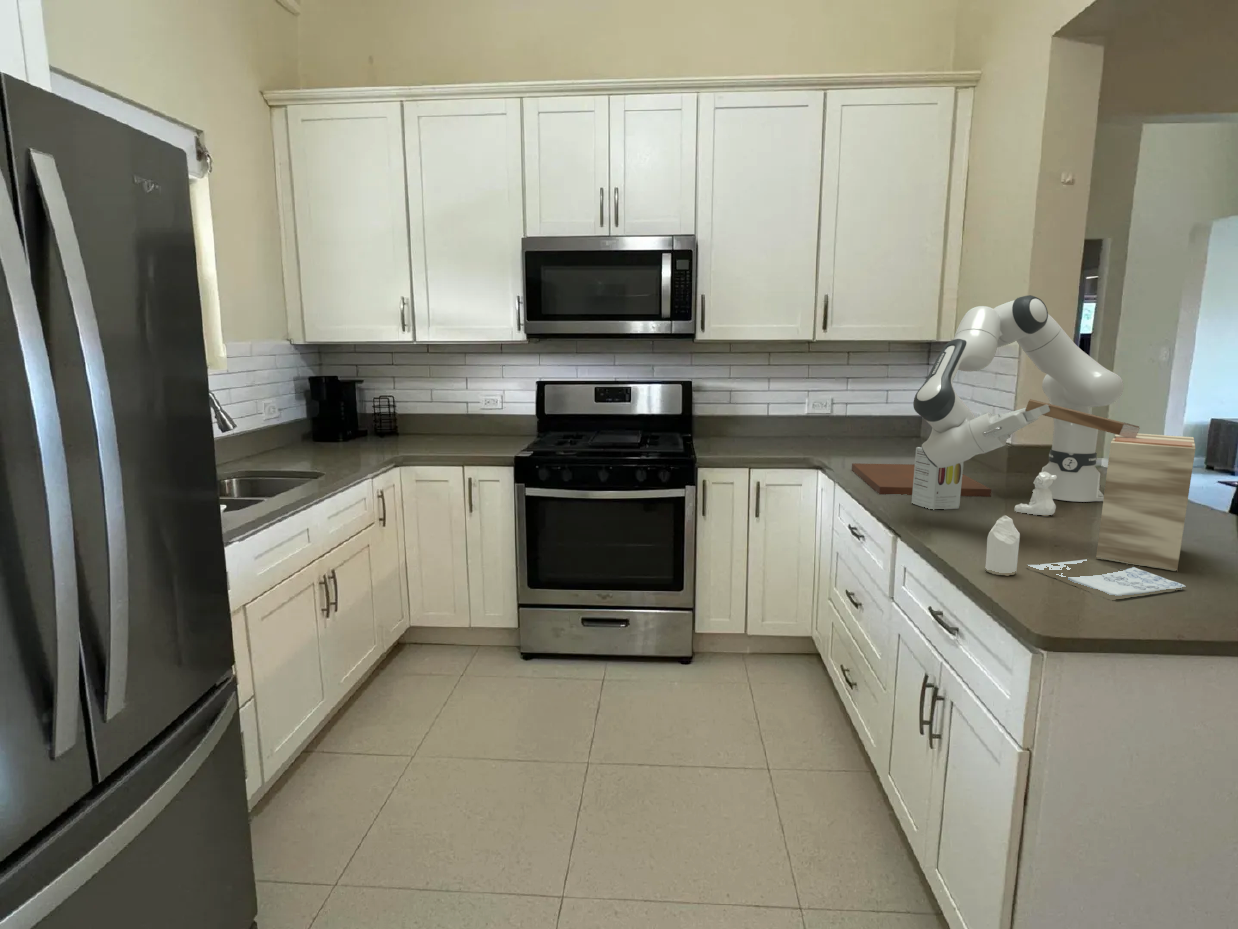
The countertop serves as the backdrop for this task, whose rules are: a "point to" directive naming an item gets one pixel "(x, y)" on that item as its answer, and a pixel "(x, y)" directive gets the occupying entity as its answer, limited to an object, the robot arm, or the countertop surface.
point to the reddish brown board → (906, 479)
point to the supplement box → (936, 484)
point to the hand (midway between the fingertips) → (1050, 406)
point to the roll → (1002, 546)
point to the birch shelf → (1146, 499)
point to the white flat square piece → (1118, 580)
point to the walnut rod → (1087, 419)
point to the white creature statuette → (1040, 497)
